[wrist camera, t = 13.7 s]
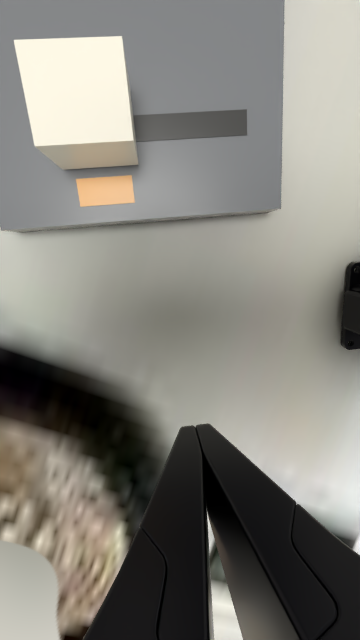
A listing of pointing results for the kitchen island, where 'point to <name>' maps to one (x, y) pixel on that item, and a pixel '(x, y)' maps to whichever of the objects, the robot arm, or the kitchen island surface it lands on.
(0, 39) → the switch panel
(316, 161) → the kitchen island surface
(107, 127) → the cream cube
